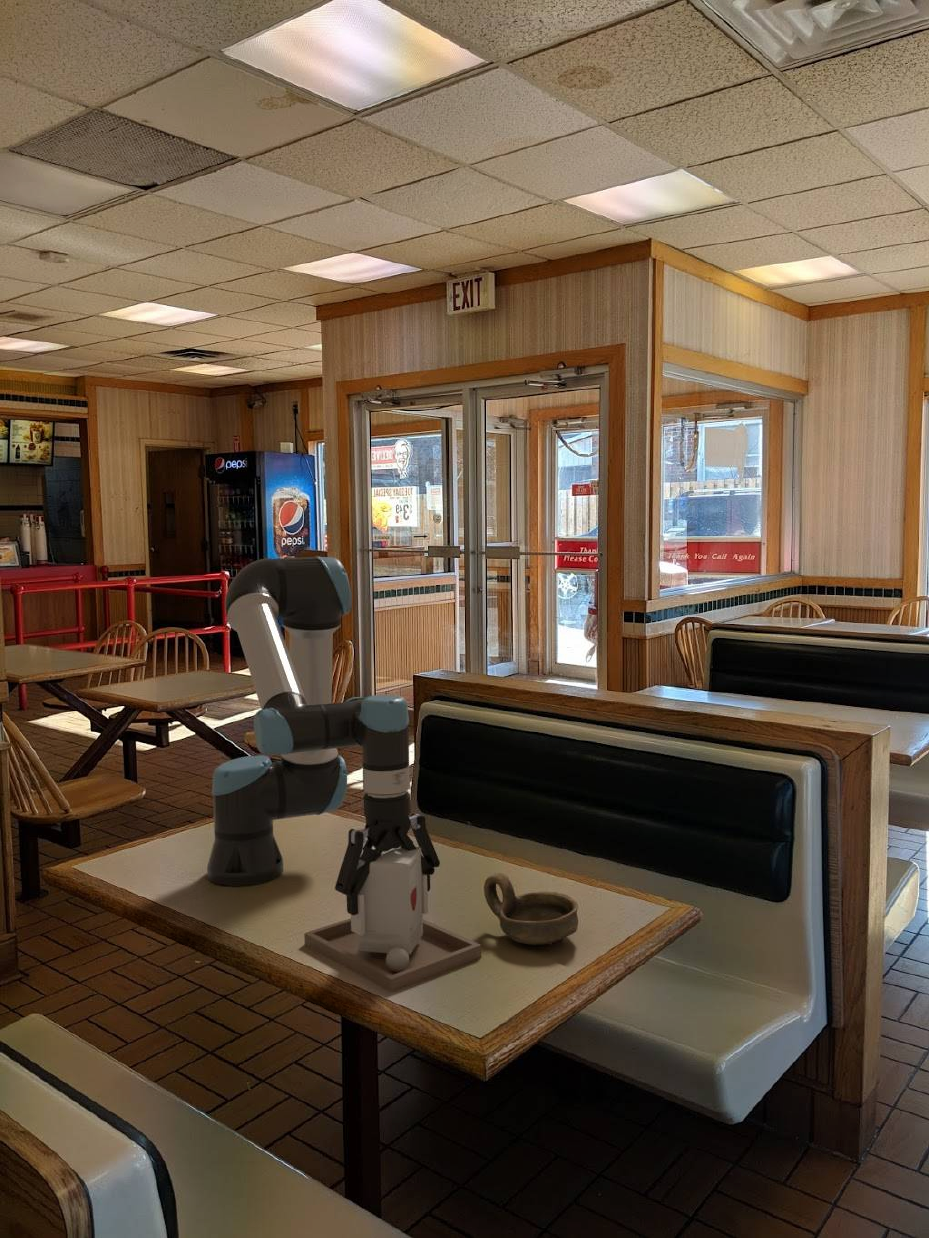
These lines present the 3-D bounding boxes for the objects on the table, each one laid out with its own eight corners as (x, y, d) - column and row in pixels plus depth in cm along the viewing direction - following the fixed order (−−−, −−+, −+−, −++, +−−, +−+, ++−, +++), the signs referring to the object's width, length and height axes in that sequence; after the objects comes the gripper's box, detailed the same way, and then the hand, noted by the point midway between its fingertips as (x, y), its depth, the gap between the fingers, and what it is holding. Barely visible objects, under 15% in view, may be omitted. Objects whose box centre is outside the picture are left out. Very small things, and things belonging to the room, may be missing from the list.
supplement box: (411, 956, 159) (408, 864, 158) (356, 952, 161) (353, 861, 160) (424, 933, 168) (422, 845, 167) (373, 930, 170) (370, 843, 169)
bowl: (553, 964, 160) (552, 903, 159) (464, 939, 170) (463, 882, 169) (596, 935, 171) (595, 878, 170) (510, 914, 181) (509, 859, 180)
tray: (304, 947, 168) (304, 933, 168) (391, 918, 180) (391, 905, 180) (391, 995, 150) (391, 979, 150) (481, 959, 162) (481, 944, 162)
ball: (381, 970, 157) (380, 948, 157) (400, 963, 160) (399, 941, 159) (395, 978, 154) (394, 955, 154) (414, 971, 157) (413, 948, 156)
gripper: (336, 811, 152) (341, 950, 154) (459, 782, 168) (461, 908, 170) (309, 802, 158) (314, 935, 159) (430, 774, 173) (433, 896, 175)
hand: (390, 921), depth 165 cm, fingers closed on supplement box, 12 cm apart
